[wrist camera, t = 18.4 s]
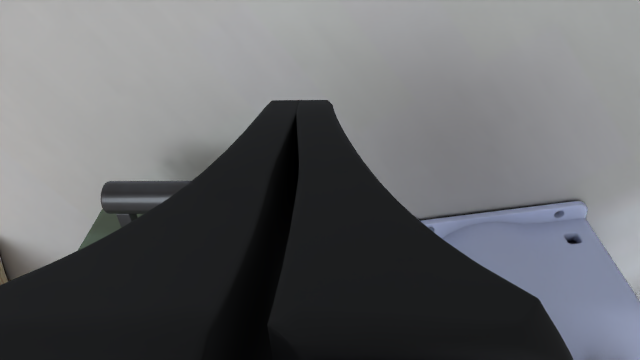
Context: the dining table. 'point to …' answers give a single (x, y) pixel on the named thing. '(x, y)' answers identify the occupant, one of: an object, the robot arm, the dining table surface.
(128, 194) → the drawer
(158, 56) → the dining table surface
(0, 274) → the coffeecake box
